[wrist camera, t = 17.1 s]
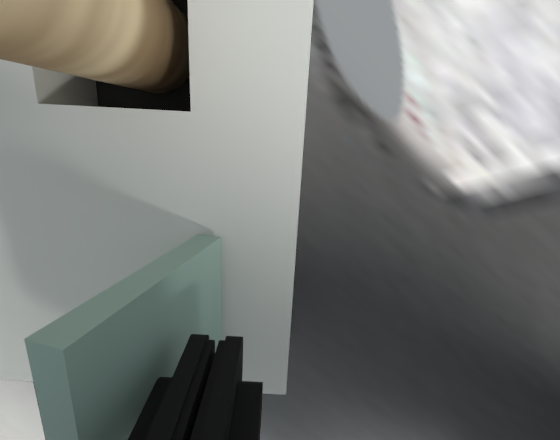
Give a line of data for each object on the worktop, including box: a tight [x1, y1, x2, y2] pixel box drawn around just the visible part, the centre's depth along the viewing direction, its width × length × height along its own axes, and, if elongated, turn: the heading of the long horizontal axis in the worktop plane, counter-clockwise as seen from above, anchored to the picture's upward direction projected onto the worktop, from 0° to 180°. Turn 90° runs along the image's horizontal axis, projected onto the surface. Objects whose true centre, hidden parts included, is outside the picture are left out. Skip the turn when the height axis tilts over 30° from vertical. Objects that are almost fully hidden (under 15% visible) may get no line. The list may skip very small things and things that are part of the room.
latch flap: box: [24, 234, 221, 440], centre depth 11 cm, size 7×7×1 cm
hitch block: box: [0, 0, 313, 395], centre depth 14 cm, size 14×20×4 cm
